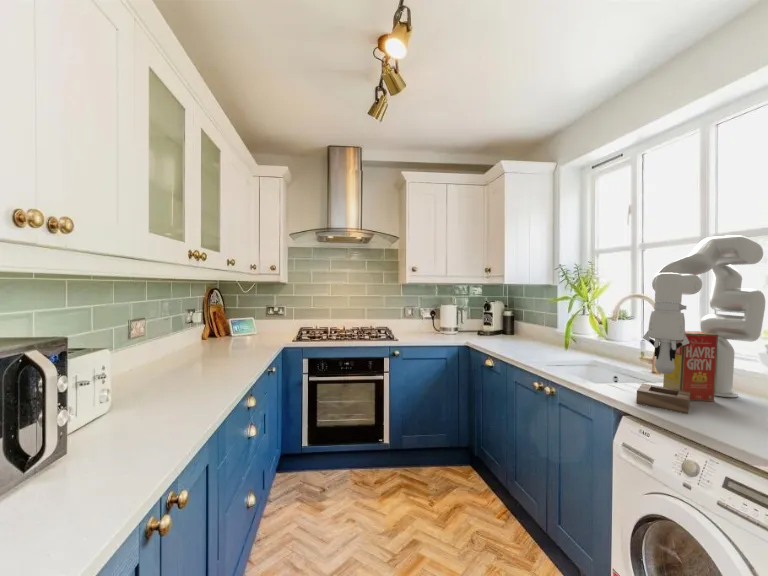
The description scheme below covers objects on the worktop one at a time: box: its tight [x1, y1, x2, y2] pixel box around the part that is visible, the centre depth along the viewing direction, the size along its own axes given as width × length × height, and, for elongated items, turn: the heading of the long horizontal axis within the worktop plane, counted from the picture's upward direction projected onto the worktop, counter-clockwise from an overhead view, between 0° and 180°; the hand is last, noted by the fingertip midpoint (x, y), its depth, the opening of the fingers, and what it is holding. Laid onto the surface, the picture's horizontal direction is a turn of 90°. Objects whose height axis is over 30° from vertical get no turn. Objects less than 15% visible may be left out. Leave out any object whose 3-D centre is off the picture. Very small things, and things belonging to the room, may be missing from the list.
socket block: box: [635, 383, 691, 415], centre depth 131 cm, size 14×14×5 cm
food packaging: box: [662, 330, 718, 402], centre depth 140 cm, size 13×9×25 cm
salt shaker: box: [653, 339, 675, 374], centre depth 131 cm, size 6×6×13 cm
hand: (664, 359), depth 130 cm, fingers closed on salt shaker, 3 cm apart
